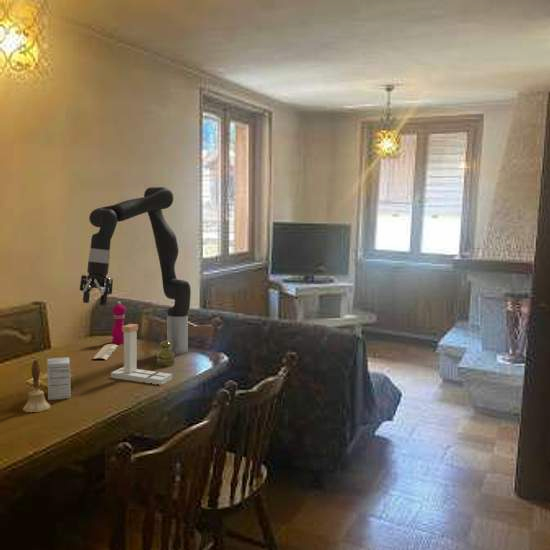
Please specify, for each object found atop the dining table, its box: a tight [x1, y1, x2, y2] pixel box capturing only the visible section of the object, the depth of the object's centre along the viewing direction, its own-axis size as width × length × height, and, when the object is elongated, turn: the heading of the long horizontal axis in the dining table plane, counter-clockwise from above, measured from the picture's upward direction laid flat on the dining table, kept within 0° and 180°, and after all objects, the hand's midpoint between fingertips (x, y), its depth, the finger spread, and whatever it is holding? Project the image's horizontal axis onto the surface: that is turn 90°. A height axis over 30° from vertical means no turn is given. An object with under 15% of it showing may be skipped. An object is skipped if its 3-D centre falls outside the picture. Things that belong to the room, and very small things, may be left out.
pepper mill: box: [111, 300, 126, 345], centre depth 266 cm, size 7×7×20 cm
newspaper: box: [92, 343, 118, 361], centre depth 249 cm, size 24×7×2 cm, turn 4°
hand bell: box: [22, 359, 51, 414], centre depth 180 cm, size 8×8×16 cm
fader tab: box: [122, 323, 139, 373], centre depth 215 cm, size 6×4×18 cm, turn 162°
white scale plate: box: [110, 366, 173, 386], centre depth 215 cm, size 8×22×2 cm, turn 72°
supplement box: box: [46, 357, 72, 401], centre depth 193 cm, size 7×7×13 cm
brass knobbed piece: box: [156, 339, 176, 367], centre depth 234 cm, size 7×7×10 cm
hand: (94, 304), depth 211 cm, fingers open, 8 cm apart
